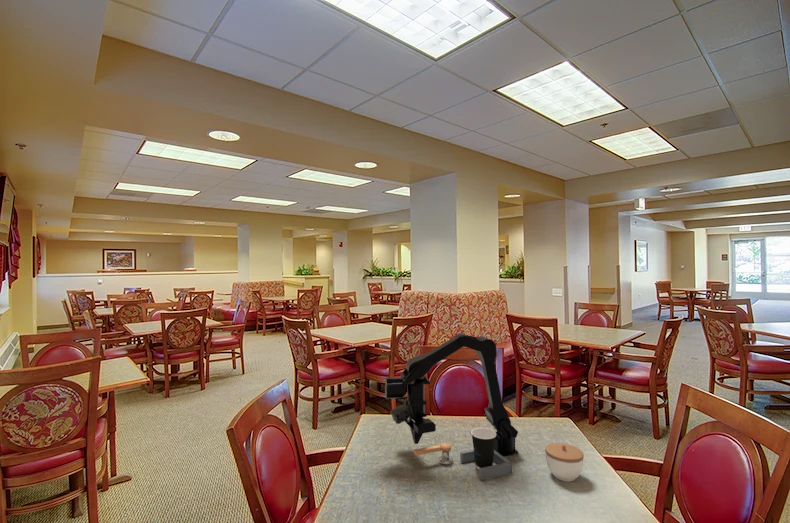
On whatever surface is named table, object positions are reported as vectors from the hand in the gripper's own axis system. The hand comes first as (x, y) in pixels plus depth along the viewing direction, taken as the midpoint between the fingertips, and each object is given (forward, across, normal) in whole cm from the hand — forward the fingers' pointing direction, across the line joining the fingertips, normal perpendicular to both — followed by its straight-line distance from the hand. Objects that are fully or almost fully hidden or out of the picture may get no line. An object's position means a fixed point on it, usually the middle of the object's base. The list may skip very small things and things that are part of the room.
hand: (416, 443), depth 132 cm
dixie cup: (+5, +14, +18) cm, 23 cm away
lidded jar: (+5, +27, +38) cm, 46 cm away
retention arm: (0, +6, +3) cm, 7 cm away
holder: (+4, +14, +18) cm, 23 cm away
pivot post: (+4, +6, +8) cm, 11 cm away
